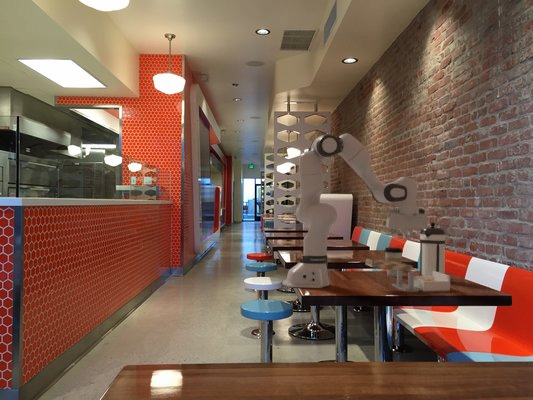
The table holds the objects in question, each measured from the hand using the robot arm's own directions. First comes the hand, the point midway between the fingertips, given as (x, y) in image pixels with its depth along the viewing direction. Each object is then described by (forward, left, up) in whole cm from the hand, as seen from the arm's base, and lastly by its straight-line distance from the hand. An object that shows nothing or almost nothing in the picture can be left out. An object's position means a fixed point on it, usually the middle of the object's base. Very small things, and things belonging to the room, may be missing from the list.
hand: (406, 238), depth 203 cm
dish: (+7, -9, -23) cm, 25 cm away
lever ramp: (-11, -5, -14) cm, 18 cm away
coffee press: (+21, +13, -23) cm, 34 cm away
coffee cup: (+5, +25, -23) cm, 34 cm away
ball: (+6, -9, -20) cm, 23 cm away
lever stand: (-5, -9, -23) cm, 25 cm away
